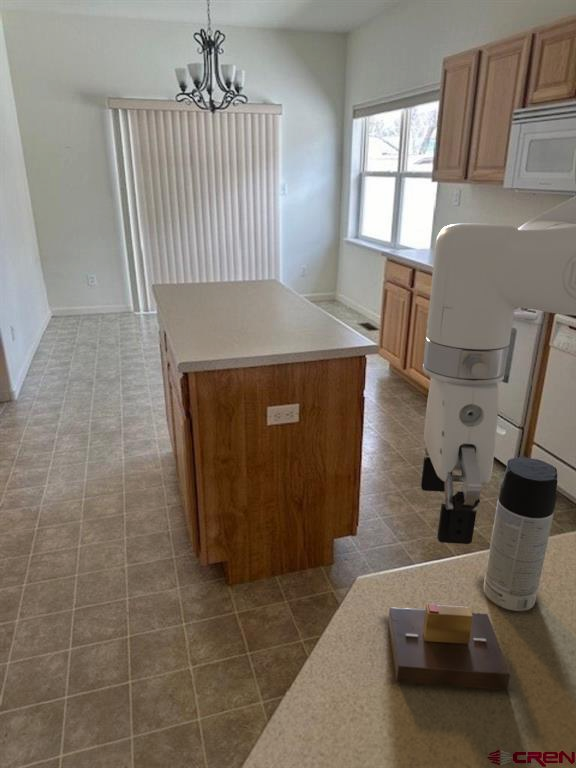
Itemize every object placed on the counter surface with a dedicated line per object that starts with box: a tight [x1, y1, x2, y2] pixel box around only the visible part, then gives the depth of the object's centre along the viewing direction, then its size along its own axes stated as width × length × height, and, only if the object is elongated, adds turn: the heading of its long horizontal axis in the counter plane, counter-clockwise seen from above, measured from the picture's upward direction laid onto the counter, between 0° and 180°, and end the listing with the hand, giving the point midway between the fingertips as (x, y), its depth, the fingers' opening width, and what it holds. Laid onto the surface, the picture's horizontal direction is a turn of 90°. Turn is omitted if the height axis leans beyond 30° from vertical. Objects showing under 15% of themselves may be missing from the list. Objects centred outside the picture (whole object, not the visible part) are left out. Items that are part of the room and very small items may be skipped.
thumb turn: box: [423, 603, 473, 644], centre depth 61 cm, size 5×2×4 cm, turn 86°
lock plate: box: [387, 607, 511, 690], centre depth 63 cm, size 12×9×3 cm
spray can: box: [483, 456, 559, 612], centre depth 69 cm, size 7×7×20 cm
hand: (443, 513), depth 56 cm, fingers open, 9 cm apart
